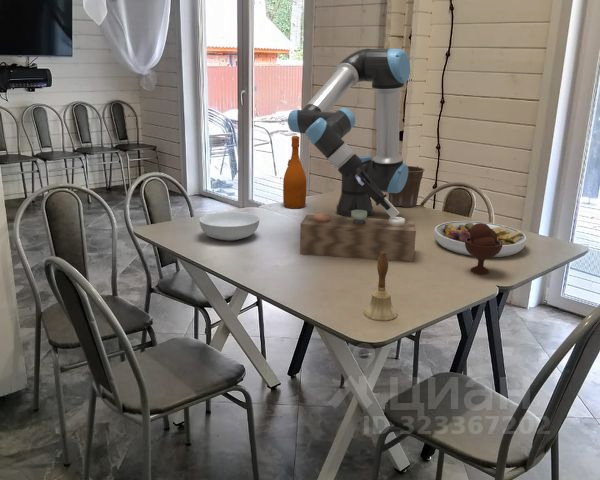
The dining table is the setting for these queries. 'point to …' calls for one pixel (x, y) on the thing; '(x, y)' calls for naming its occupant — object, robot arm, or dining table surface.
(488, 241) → the ice cream bowl
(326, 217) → the terracotta button
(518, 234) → the bowl
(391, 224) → the cream button
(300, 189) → the wine bottle
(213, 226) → the serving bowl
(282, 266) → the dining table surface
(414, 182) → the plant pot
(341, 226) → the console
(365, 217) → the sage button
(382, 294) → the hand bell
